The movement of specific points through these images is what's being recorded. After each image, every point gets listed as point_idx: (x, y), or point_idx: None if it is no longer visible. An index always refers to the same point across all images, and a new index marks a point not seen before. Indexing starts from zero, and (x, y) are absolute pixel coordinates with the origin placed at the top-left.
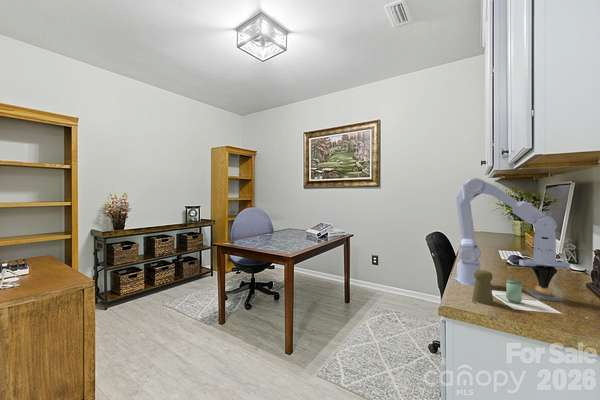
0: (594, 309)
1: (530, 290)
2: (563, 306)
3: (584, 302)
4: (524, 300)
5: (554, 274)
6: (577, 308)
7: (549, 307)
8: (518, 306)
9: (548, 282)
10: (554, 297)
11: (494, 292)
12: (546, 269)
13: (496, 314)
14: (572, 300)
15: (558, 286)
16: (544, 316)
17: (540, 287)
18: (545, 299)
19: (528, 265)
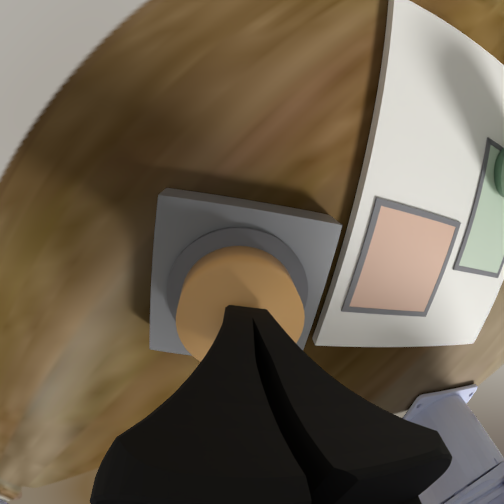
0: (47, 103)
1: None
2: (225, 121)
3: (11, 231)
4: (446, 196)
5: (168, 407)
6: (148, 93)
7: (397, 72)
8: None
9: (234, 334)
10: (213, 218)
11: (471, 313)
12: (356, 493)
13: None
14: (51, 260)
15: (22, 423)
16: (474, 22)
17: None
18: (294, 210)
19: (476, 498)
